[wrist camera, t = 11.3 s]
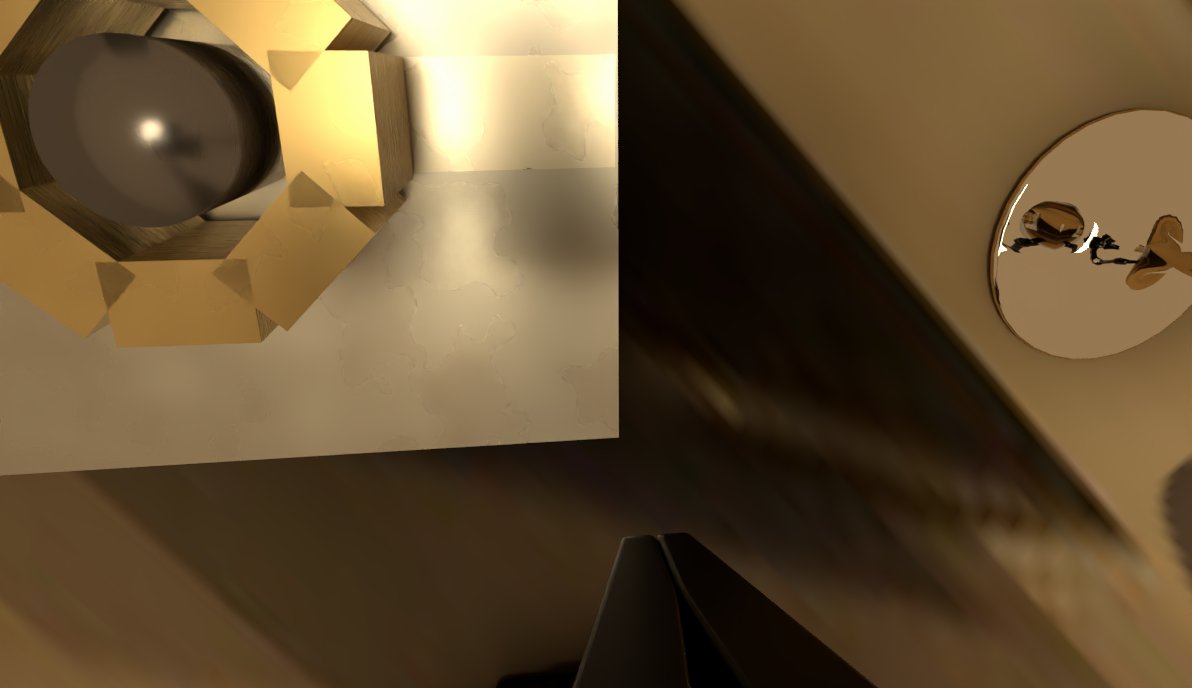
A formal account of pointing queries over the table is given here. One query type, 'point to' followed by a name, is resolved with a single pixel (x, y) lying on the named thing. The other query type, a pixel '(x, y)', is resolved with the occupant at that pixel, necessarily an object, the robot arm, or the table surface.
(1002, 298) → the wineglass
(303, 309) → the octagonal ring with handle
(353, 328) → the post base
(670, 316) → the table surface
